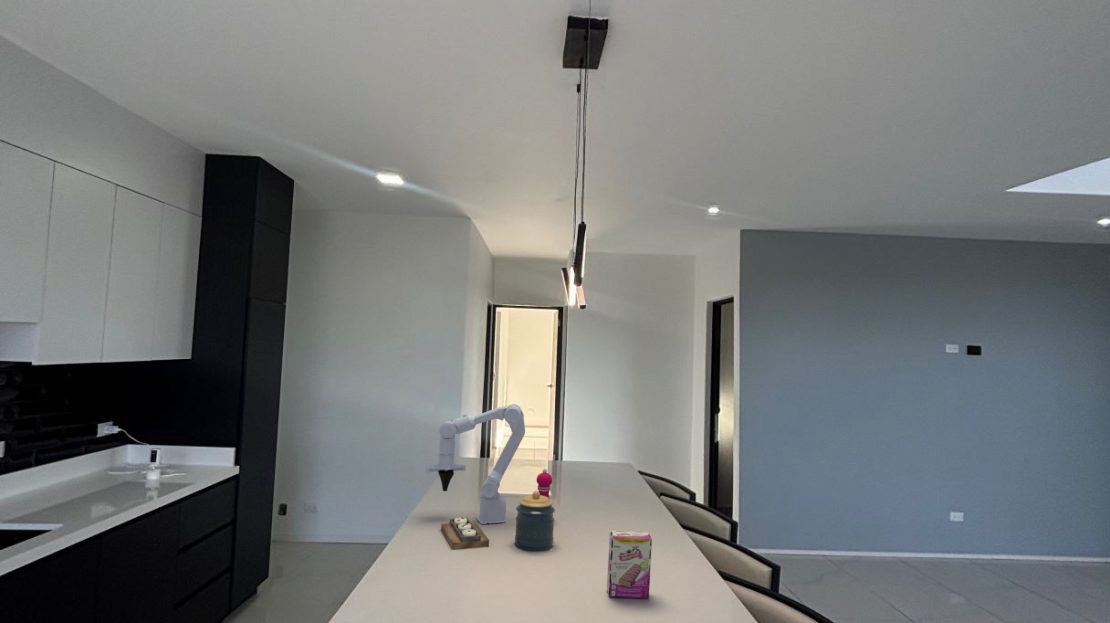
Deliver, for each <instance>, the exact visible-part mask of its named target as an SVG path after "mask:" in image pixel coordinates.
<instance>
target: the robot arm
mask: <svg viewBox="0 0 1110 623" xmlns="http://www.w3.org/2000/svg"><path fill="white" fill-rule="evenodd" d="M492 420H500V421H504V420H505V422H506V424H507V425H509V428H510V431H511V434H510V436H509V438H508V441H507V442H506V444H505V446H504V448H503V449H502V451H501V453H500V456H499V457H498V459H497V460H496V462H495V465H494V466H493V469H492V470H491V472H490V474H489V475H488V476H487V477H485V478H484V480H483V483H482V485H481V487H480V493H481V494H480V499H479V502H480V503H479V515H478V516H476V517H475V518H476V519H477V521H478V522H479V523H480V524H481V525H486V524H487V523H489V524H502V523H506V522H507V521H506V512H507V510H506V509H507V501H506V500H507V499H506V497H505V496H504V495H501V494H499V493H500V492H499V488H500V485H501V480H502V479H503V477H504V474H505V473H506V471H507V469H508V467H509V466H510V463H511V462H512V460H513V458H514V457H515V455H516V454H515V453H516V452H517V450H518V448H519V447H520V444H521V442H522V441H523V438H524V437H525V435H526V426H525V415H524V413H523V411H522V408H521V406H520V405H518V404H515V403H514V404H513V403H512V404H509V405H503V406H499V407H496V408H493V409H490V410H488V411H485V412H483V413H479V414H477V415H475V416H474V415H472V414H467V413H464V414H463V415H462V416H461V417H458V418H451V419H450V420H448V421H445V422H444V423H443V424H441V426H440V427H439V434H440V438H439V440H440V441H439V449H438V451H439V452H438V453H439V454H438V464H435V465H426V467H425V468H426V469H425V471H426V473H430V472H437V473H438V476H439V478H440V482H441V486H442V487H441V488H442V491H443V492H448V489H449V485H450V483H451V480H452V478H453V476H454V474H455V472H457V471H463V472H465V471H466V466H467V465H466V464H458V463H457V464H455V450H456V449H455V448H456V435H461V434H463V433H466V432H469V431H472V430H474V429H475V428H476V425H479V424H482V423H485V422H489V421H492ZM501 522H502V523H501Z"/></svg>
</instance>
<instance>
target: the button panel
mask: <svg viewBox="0 0 1110 623" xmlns="http://www.w3.org/2000/svg"><path fill="white" fill-rule="evenodd" d="M465 518H466V519H467V523H468V524H471V529H472V530H475V531H476V536H465V537H463V536H462V531H463V530H458V525H459V524H454V519H455V518H449V522H447V523H441V526H440V530H441V532H442V534H443V535H444V537H445V539H446V541H447V543H448V544H449V546H450V548H451V550H463V549H473V548H474V549H475V548H485V546H487V547H489V546H490V539H489V538H488V537H487V535H486V534H485V532H483V530H482V529H481V527H480V526H479V525H478V524H477V522H476V521H470V519H469V518H468V517H465Z"/></svg>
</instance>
